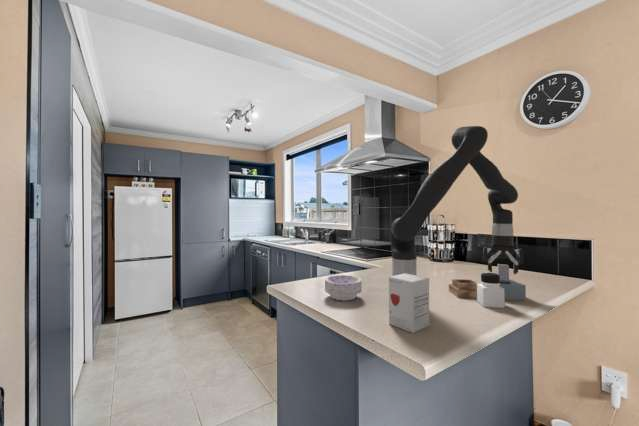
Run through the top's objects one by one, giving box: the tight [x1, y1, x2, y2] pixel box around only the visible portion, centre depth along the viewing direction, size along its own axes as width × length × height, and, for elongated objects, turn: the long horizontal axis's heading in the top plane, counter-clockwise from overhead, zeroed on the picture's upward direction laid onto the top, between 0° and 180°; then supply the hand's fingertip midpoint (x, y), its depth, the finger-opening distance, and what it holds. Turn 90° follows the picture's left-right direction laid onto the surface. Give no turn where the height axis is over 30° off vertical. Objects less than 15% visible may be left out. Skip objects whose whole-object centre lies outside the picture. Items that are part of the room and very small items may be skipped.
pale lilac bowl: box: [324, 274, 363, 302], centre depth 115 cm, size 15×15×8 cm
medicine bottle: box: [476, 271, 506, 309], centre depth 105 cm, size 7×7×12 cm
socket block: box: [448, 278, 479, 299], centre depth 120 cm, size 10×10×6 cm
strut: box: [496, 263, 510, 284], centre depth 117 cm, size 5×5×12 cm
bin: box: [499, 278, 527, 301], centre depth 117 cm, size 11×11×6 cm
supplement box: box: [388, 273, 430, 334], centre depth 86 cm, size 9×9×15 cm
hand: (502, 272), depth 117 cm, fingers open, 8 cm apart
